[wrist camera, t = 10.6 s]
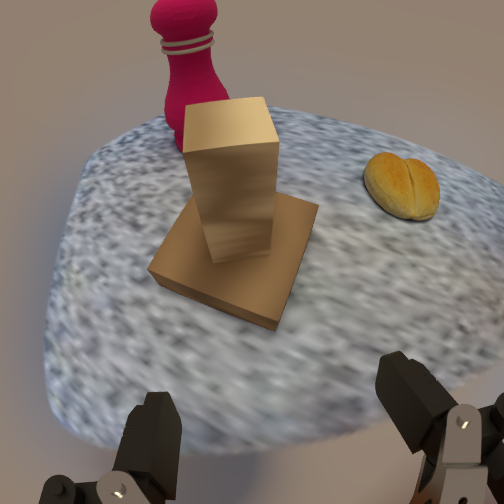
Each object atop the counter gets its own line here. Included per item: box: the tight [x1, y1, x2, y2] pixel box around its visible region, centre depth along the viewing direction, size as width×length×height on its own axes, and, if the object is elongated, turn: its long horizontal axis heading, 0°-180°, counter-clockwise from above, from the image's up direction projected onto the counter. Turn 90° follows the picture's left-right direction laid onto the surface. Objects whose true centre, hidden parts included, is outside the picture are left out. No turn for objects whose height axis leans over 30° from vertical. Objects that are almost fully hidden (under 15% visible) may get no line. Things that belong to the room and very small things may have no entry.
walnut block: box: [147, 192, 319, 331], centre depth 22 cm, size 10×10×3 cm
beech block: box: [183, 97, 279, 263], centre depth 16 cm, size 4×4×10 cm
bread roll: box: [364, 152, 440, 221], centre depth 25 cm, size 8×9×4 cm
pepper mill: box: [150, 0, 230, 152], centre depth 22 cm, size 7×7×20 cm
